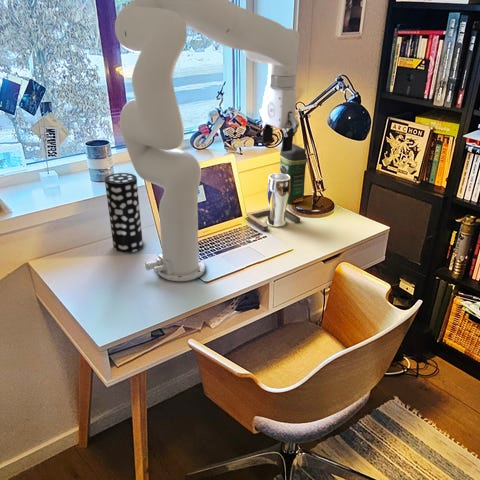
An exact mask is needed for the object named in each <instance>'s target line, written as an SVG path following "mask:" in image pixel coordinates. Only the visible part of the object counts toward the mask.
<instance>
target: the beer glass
mask: <svg viewBox="0 0 480 480" xmlns="http://www.w3.org/2000/svg"><path fill="white" fill-rule="evenodd" d="M266 188H267V189H266V196H267V197H266V198H267V205H268V206H267V207H268V208H269V213H268V215H267V219H266V225H267V226H270V227H274V228H275V227H276V228H280V227H283V226H286V224H287V220H286V219H287V218H286V217H285V212H286V210H287V208H288V204H289V203H288V199H289V194H290V176H289V175H286V174H282V173H280V172H278V173H277V172H275V173H271V174H269V175H268V180H267V187H266ZM268 208H267V209H268Z"/></svg>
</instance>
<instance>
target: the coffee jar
mask: <svg viewBox="0 0 480 480" xmlns="http://www.w3.org/2000/svg"><path fill="white" fill-rule="evenodd" d="M305 150H306V148H303V147H301V146H299V145H298V144H295V143H292V150H291V151H285V152H283V151H282V147H281V148H280V153H279V173H282V174H286V175H289V176H290V194H289V199H288V203H287V204H294V203H293V201H294V200H295V199H298V198H301V197H304V198H305V183H306V182H305V180H306V169H307V163H308V160H307V158H306V154H305Z"/></svg>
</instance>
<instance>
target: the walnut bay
mask: <svg viewBox="0 0 480 480" xmlns="http://www.w3.org/2000/svg"><path fill="white" fill-rule="evenodd" d="M246 213H247V216H248V217H247V218H248V219H247V221H248V222H249V223H251V224H252V225H254V226H255V227H257V228H258V229H259V230H261V231H263V232H266V231H269V225H268V224H267V223H265V222H263V221H261V220H260V219H259V217H264V216H268V213H269V208H264V209H259V210H254V211H250V212H246ZM285 218H286V219H288V220H290V221H291V222H293V223H295V224H299V223H301V217H300V216H298V215H296V214H294V213H292V212H291V211H289V210H287V209H286V212H285Z"/></svg>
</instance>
